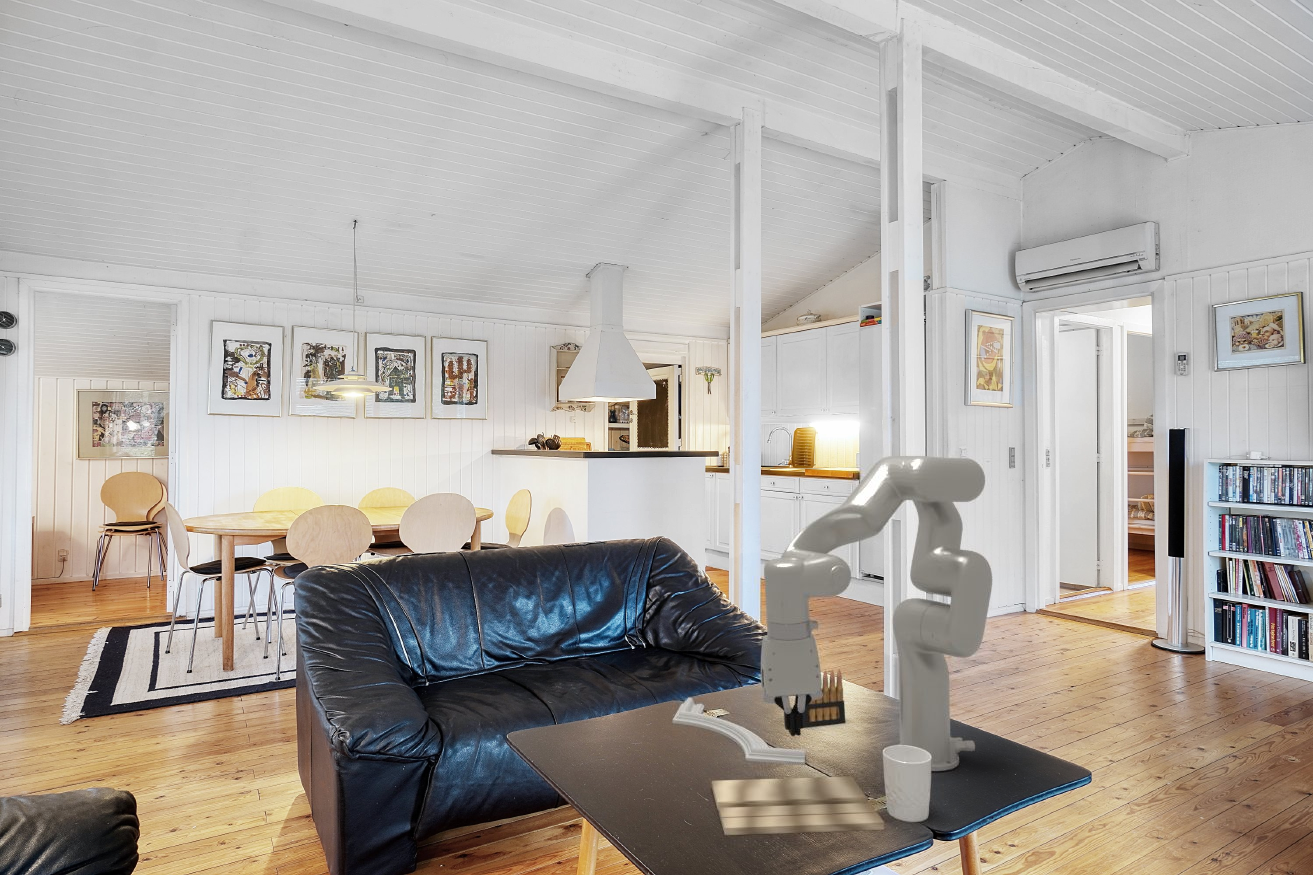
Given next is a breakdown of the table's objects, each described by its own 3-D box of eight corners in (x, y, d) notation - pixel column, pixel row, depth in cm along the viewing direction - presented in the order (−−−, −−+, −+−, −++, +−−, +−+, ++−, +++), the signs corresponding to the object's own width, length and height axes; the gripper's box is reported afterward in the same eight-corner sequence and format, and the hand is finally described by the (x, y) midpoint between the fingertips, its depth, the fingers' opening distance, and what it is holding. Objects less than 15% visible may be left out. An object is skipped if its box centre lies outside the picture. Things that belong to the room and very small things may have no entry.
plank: (851, 782, 142) (851, 775, 142) (867, 806, 133) (867, 798, 133) (711, 787, 140) (711, 780, 140) (718, 811, 131) (718, 803, 131)
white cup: (878, 802, 134) (877, 744, 135) (923, 802, 134) (923, 744, 134) (890, 824, 127) (889, 762, 127) (939, 824, 126) (938, 763, 127)
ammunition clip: (841, 720, 176) (840, 667, 176) (845, 723, 174) (844, 669, 174) (798, 725, 173) (798, 671, 173) (802, 728, 171) (801, 673, 171)
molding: (819, 764, 153) (819, 750, 153) (772, 778, 146) (772, 763, 146) (694, 705, 188) (694, 693, 188) (653, 714, 182) (653, 702, 182)
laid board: (870, 809, 132) (869, 802, 132) (884, 829, 125) (884, 821, 125) (719, 814, 130) (718, 807, 130) (724, 835, 123) (724, 827, 123)
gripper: (824, 621, 140) (830, 721, 140) (743, 626, 139) (748, 727, 139) (836, 631, 132) (842, 738, 132) (750, 638, 131) (756, 744, 132)
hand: (794, 732), depth 136 cm, fingers closed
